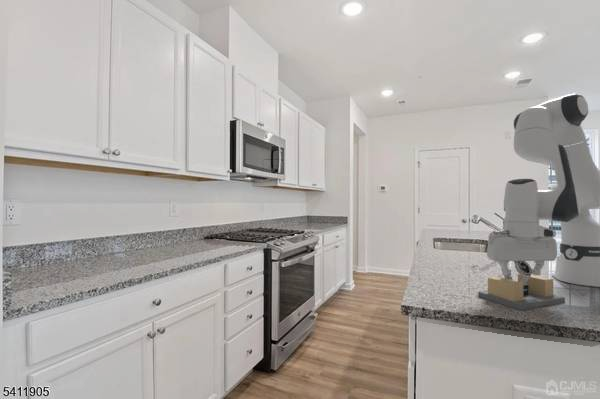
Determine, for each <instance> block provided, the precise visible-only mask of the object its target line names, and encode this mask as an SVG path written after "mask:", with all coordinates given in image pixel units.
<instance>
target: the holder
mask: <svg viewBox="0 0 600 399" xmlns="http://www.w3.org/2000/svg"><path fill="white" fill-rule="evenodd" d="M513 280H514V279H513ZM513 280H509V279H505V277H504V278H503V277H499V276H491V277H487V290H479V291H478V292H477V293H478V294H477V297H479V298H482V299H484V300H489V301H491V302H495V303H497V304H501V305H503V306H507V307H510V308H513V309H516V310H519V311H524V310H530V309H531V310H532V309H536V308H541V307H542V308H543V307H546V306H547V307H548V306H553V305H558V304H563V303H565V302H566V298H565V296H561V295H558V294H557V295H556V294H554V279H553V278H549V277H546V276H541V275H532V274H531V277H530V279H529V281H528V282H527V283H525V284H528V285H529V287H528V295H523V283H521V281H522V280H523V278H522V277H521V275H520V274H519V273H518V274H517V280H514V281H513Z"/></svg>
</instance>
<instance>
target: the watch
mask: <svg viewBox="0 0 600 399" xmlns="http://www.w3.org/2000/svg"><path fill="white" fill-rule="evenodd" d="M509 262H510V261H508V263H509ZM513 263H514V268H515V270H516V272H517V273H518V274H520V275H521V277H522V278H523V280H522V281H521V283H523V295H528V287H529V285H528V284H525V283H527V282H528V281H529V279H530V277H531V274H532V270H531V269H532V267H531V266H530V264H529V263H528V261H513ZM506 266H507V267H508V265H506ZM500 270H501V271H502V268H501V267H500ZM503 277H504V278H505V279H509V280H513V281H515V280H514V279H513V277H512V274H511V275H510V276H505V275H503Z"/></svg>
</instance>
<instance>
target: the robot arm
mask: <svg viewBox="0 0 600 399" xmlns="http://www.w3.org/2000/svg"><path fill="white" fill-rule="evenodd" d="M588 114H589V105H588V102H587V100H586V99H585V97H584V96H583V95H581V94H579V93H571V94H566V95H564V96H560V97H558V98H554V99H551V100H548V101H545V102H543V103H541V104H538V105H536V106H533V107H532V106H531V107H529V108H527V109H525V110H523V111H522V112H519V113H518V114H517V115H516V116H515V118H514V120H513V128H514V129H513V130H514V135H513V150H514V152H515V153H516V155H517V156H518V157H520V158H522V159H523V160H525V161H529V162H532V163H536V164H537V163H538V164H540V165H541V164H542V165H545V166H549V167H551V168H552V169H553V170H554V172H555V173H554V174H555V179H556V184H553V185H552V186H550V187H549V188H548V189H538V188H539V187H538V183H537V181H536V180H535V179H533V178H518V179H517V178H515V179H511V180H508V181H507V182H506V186H505V189H504V190H505V191H504V195H503V196H504V197H503V210H504V213H505V215H504V218H503V230H493V231H492V232H491V233H489V235H488V244H487V249H486V250H487V251H486V257H487V258H488V260H491V261H494V262H498V264H499V266H500V269H501V268H502V270H501V273H502V275H503V276H504V275H505V276H510V275H511V276H512V269H509V268H508V265H509V262H514V261H525V262H534V267H533V268H531V270H532V275H537V276H541V270H542V269H543V267H544V265H545V262H550V261H551V262H553V261H555V269H554V273H551V277H553V278H555V279H556V280H558V281H561V282H565V283H569V284H573V285H580V286H585V287H598V288H600V223H599V222H598V221H596V220H595V219H594V218H593V216H592V215H591V213H590V210H599V209H600V169H599V168H598V167H597V165H596V163H595V162H594V160H593V157H592V154H591V151H590V148H589V145H588V142H587V141H588V140H587V136H586V134H585V132H584V129H583V127H582V126H581V125H582V122H583V121H584V120H585V119H586V118H587V116H588ZM540 221H554V222H560V229H561V232H560V234H561V236H560V237H561V238H560V239H561V240H560V241H561V243H560V244H559V253H560V254H559V255H558V246H557V245H558V244H557V240H556V239H555V238H556V236H557V232H556V230H554V229H551V228H549V227H548V228H547V227H546V226H542V225H540ZM508 261H509V262H508ZM506 265H507V266H506Z"/></svg>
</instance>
